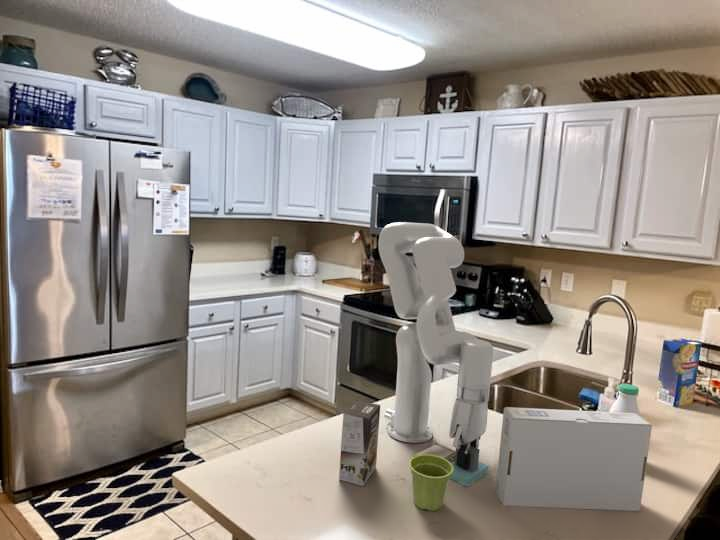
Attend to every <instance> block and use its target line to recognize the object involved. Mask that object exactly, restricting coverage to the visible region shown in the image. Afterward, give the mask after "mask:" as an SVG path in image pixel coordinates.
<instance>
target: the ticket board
mask: <svg viewBox="0 0 720 540" xmlns="http://www.w3.org/2000/svg"><path fill="white" fill-rule="evenodd" d="M455 453H456V450H454V449H451V448H449V447H446V446H445V445H441V444H439V443H437V442H435V443H433V444H432V445H430V446H428V447H426V448H424V449H422V450H421V451H419V452H417V453H415V454H413V457H415V456H418V455H435V456H439V457H442V458H444V459H446V460H448V461H449V462H450V463H452V462H453V461H455ZM413 457H412V458H413Z"/></svg>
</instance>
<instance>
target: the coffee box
mask: <svg viewBox="0 0 720 540" xmlns="http://www.w3.org/2000/svg"><path fill="white" fill-rule="evenodd" d="M380 414H381V404H377V403H371V402H365V401H360V400H356V401H354V402H353V404H351V405H350V406H349V407H348V408H347V409H346V410H345V411H344V412H343V416H342V425H341V426H342V429H341V443H340V444H341V445H340V456H339V457H340V458H339V459H340V460H339V472H338V480H340V481H342V482H347V483H350V484H354V485H357V486H360V487H364V486H365V484H366V483H367V482H368V480H369V479H370V477H371V476H372V474H373V473H374V471H375V470H376V468H377V458H378V444H379V427H380V416H381V415H380Z"/></svg>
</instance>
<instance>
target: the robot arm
mask: <svg viewBox="0 0 720 540" xmlns="http://www.w3.org/2000/svg"><path fill="white" fill-rule="evenodd" d="M378 253H379V257H380V259H381V263H382V265H383V267H384V270H385V271H386V274H387V280H388V283H389V289H390V294H391V297H392V298H391V299H392V302H393V308H394V311H395V313H396V315H397V317H398V318H400V319H403V320H416V322H412V323H407V324H404V325H403V326H401V327H400V328H399V329H398V330H397V333H396V335H395V346H396V355H397V371H396V384H395V385H396V388H395V401H394V410H393V409H392V408H387V409H386V411H385V413H384V417H383V418H384V419H387V420H389V421H390V422H389V424H388V425H387V433H388V434H389V436H391V438H393V439H395V440H397V441H400V442H404V443H411V444H420V443H424V442H427V441H429V440H431V439H432V437H433V433H434V432H433V429H432V427H430V426H429V424H428V423H429V411H430V402H431V401H430V400H431V388H432V370H431V366H430V365H429V364H428V363H430V364H431V365H435V366H440V365H449V364H457V363H458V364H459V365H458V372H457V373H458V377H457V385H456V387H457V388H456V395H455V396H456V398H455V401H454V405H453V409H452V412H451V413H452V414H451V419H450V424H449V425H450V426H449V434H448V435H449V438H451V439H453V441H452V447H453V448H455V449H456V448H457V451H458V452H457V463H456V464H457V466H459V467H461V468H463V469H466V470H468V469H469V465H470V455H471V454H470V453H469V449H470V446H472V447H475V448H477V449H479V445H480V440H481V437H482V436H483V435H484V434H485V433H486V430H487V425H488V415H489V414H488V411H489V410H488V409H489V407H488V405H489V403H488V402H489V401H490V393H491V392H490V390H491V389H490V388H491V381H492V369H493V362H494V361H493V359H494V347H493V345H492V344H491V343H490V342H489V341H486V340H483V339H479V338H477V337H476V336H474V335H473V334H472V333H470V332H468V331H456V330H457V329H456V326H455V323H454V319H453V313H452V310H451V306H450V302H449V299H450V298H452V297H453V296H454V295H455V294H456V292H457V287H456V283H455V280H454V278H453V277H454V276H453V274H452V270H451V269H456V268H458V267H459V266H461V265H462V264H463V261H464V260H465V249H464V246H463V245H462V243H461V241H459V239H458V238H457V237H455V236H453V235H452V234H450V233H449V232H447V231H446V230H444V229H442V228H441V227H439V226H438V225H436V224H432V223H425V222H424V223H422V222H409V221H408V222H407V221H403V222H402V221H398V222H391V223H390V224H387V225H385V226H384V227H383V228H382V229H381V231H380V233H379V238H378ZM406 253H412V257H413V260H414V263H413V261H412V260H411V259H410V258H409V257H408V256H407V255H406ZM462 443H465V444H466V446H464V445H463V444H462Z"/></svg>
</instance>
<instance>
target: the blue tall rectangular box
mask: <svg viewBox="0 0 720 540" xmlns="http://www.w3.org/2000/svg"><path fill="white" fill-rule="evenodd" d="M701 350H702V343H701V342H698V341H693V340H690V339H686V338H674V339H664V340H663V342H662V350H661V351H662V352H661V357H660V358H661V359H660V362H659V363H660V364H659V370H658V371H659V372H658V379H657V384H656V385H657V387H656V391H655V392H656V393H655V401H657V402H660V403H663V404H665V405H668V406H671V407H673V408H676V407H681V406H687V405H690V404H693V403H694V396H695V391H696V384H697V376H698V371H699V370H698V369H699V363H700V357H701Z"/></svg>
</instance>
